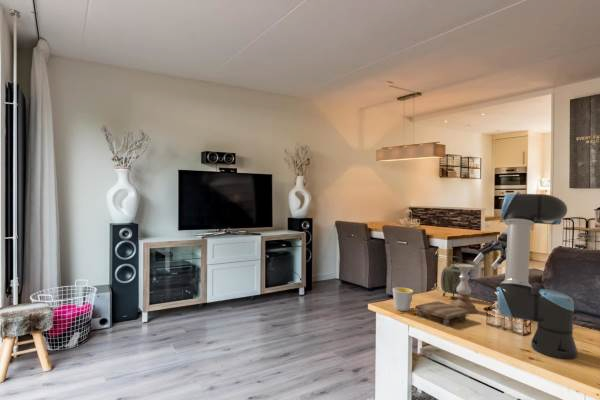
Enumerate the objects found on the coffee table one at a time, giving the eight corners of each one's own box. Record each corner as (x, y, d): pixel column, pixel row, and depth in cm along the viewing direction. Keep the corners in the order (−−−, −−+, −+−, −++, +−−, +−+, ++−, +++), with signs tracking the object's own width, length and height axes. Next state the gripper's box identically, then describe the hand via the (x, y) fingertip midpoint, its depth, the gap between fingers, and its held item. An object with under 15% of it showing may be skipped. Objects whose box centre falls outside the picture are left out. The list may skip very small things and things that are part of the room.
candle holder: (477, 313, 195) (479, 267, 195) (456, 312, 195) (458, 266, 195) (468, 307, 206) (470, 263, 206) (448, 306, 206) (450, 262, 206)
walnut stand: (469, 320, 183) (469, 310, 183) (447, 327, 173) (447, 316, 173) (437, 310, 198) (437, 301, 198) (415, 315, 187) (415, 305, 187)
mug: (402, 313, 190) (403, 293, 190) (387, 308, 199) (388, 288, 198) (420, 310, 197) (421, 290, 197) (405, 304, 206) (406, 285, 206)
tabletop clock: (466, 298, 224) (468, 256, 224) (466, 302, 216) (468, 258, 216) (440, 294, 230) (442, 254, 230) (439, 298, 222) (441, 256, 221)
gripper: (530, 245, 195) (505, 274, 192) (494, 239, 219) (471, 265, 216) (523, 235, 194) (497, 264, 190) (487, 230, 218) (464, 256, 215)
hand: (483, 265), depth 203 cm, fingers open, 13 cm apart
